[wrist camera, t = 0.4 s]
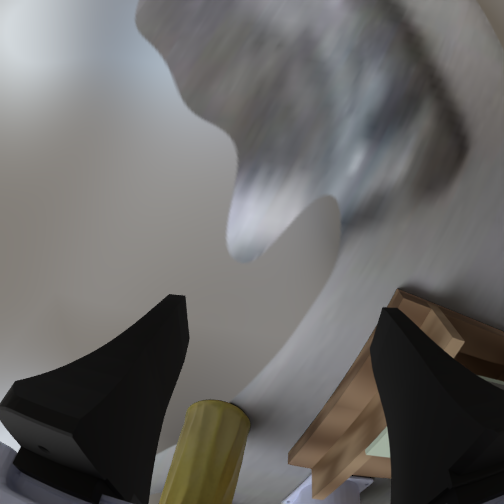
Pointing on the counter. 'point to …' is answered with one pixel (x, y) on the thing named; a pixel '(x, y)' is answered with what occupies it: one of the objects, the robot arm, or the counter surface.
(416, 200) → the counter surface
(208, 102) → the counter surface
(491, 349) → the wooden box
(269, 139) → the counter surface
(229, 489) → the vase
